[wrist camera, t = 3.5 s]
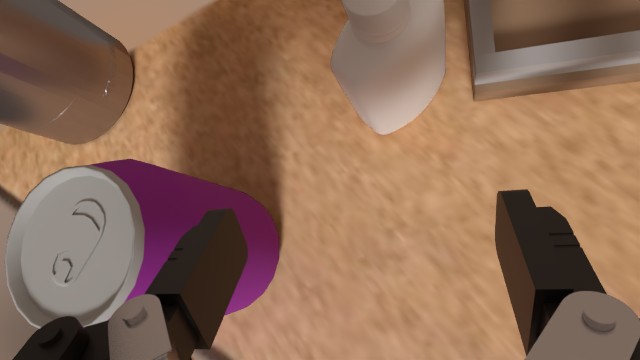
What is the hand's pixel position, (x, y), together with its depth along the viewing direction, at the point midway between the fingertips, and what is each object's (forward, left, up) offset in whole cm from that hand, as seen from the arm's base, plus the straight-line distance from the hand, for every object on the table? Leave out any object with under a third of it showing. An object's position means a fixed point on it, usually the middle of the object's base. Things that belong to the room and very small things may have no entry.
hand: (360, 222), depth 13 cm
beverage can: (-11, 0, -12) cm, 16 cm away
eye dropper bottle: (+1, +9, -12) cm, 14 cm away
